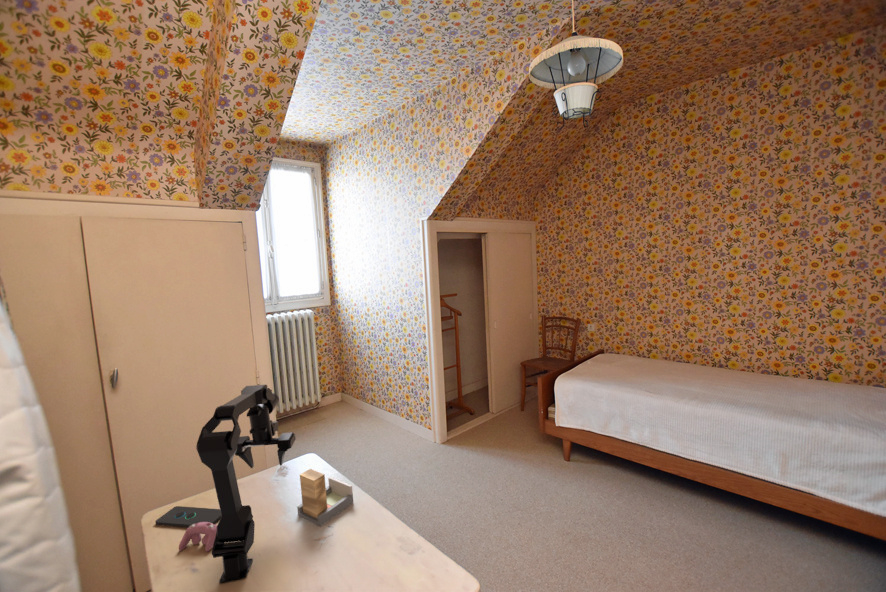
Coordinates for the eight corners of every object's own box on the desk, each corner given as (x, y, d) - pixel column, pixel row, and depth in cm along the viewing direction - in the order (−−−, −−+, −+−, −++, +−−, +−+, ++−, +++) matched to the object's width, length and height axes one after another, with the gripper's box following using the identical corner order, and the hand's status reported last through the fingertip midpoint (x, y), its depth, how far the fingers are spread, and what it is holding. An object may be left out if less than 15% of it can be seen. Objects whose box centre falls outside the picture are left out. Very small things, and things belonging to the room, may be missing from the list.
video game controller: (218, 548, 114) (223, 521, 116) (207, 552, 110) (213, 524, 112) (187, 547, 115) (192, 520, 117) (175, 551, 111) (181, 523, 113)
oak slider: (317, 519, 120) (313, 480, 119) (303, 511, 124) (299, 474, 123) (327, 511, 123) (324, 474, 122) (313, 504, 127) (310, 468, 126)
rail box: (320, 526, 118) (318, 508, 118) (298, 515, 124) (296, 497, 124) (353, 502, 130) (352, 485, 129) (331, 493, 136) (330, 476, 135)
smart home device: (175, 505, 131) (227, 509, 128) (176, 510, 132) (228, 513, 128) (153, 521, 123) (208, 526, 120) (154, 526, 123) (208, 531, 120)
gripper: (297, 408, 132) (302, 449, 135) (241, 412, 130) (247, 454, 133) (287, 425, 121) (293, 469, 124) (225, 430, 119) (233, 474, 123)
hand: (267, 466), depth 126 cm, fingers open, 9 cm apart
